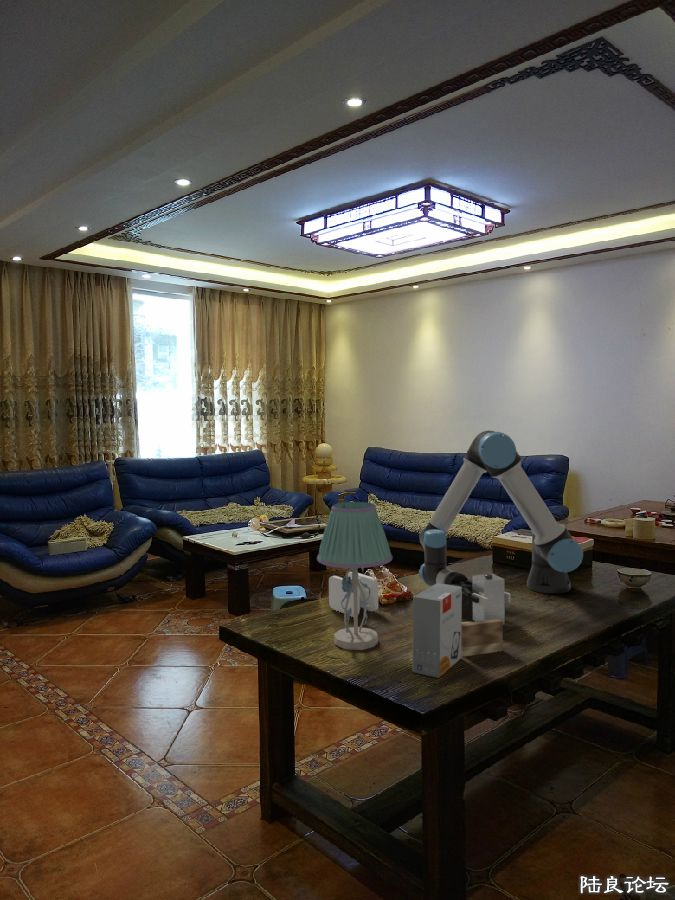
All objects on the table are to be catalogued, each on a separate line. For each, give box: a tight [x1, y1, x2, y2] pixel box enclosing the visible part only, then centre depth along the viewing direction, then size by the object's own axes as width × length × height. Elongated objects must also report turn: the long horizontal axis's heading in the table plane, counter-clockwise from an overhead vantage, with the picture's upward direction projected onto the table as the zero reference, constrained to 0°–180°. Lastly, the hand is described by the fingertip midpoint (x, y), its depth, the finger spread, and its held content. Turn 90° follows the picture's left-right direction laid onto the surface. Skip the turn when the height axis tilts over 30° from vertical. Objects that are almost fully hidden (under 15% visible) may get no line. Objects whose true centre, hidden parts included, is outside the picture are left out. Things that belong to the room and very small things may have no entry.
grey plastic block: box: [328, 571, 379, 618], centre depth 218 cm, size 15×11×12 cm
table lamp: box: [316, 501, 393, 651], centre depth 188 cm, size 22×22×40 cm
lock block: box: [471, 573, 506, 625], centre depth 202 cm, size 7×7×15 cm
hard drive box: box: [411, 583, 463, 679], centre depth 171 cm, size 16×8×20 cm, turn 148°
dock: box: [461, 619, 504, 658], centre depth 188 cm, size 12×18×8 cm, turn 17°
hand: (498, 600), depth 197 cm, fingers closed on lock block, 8 cm apart
